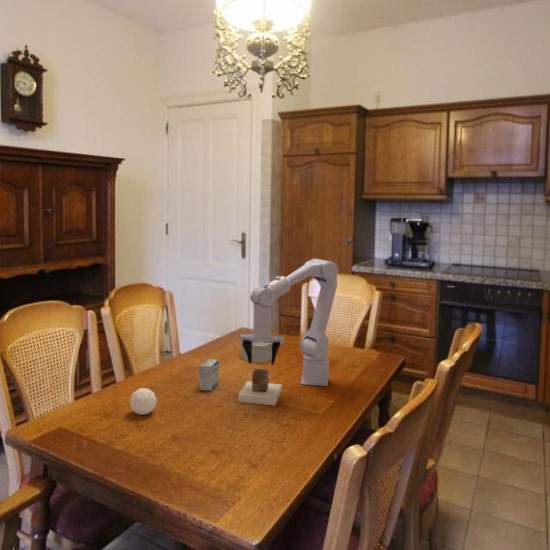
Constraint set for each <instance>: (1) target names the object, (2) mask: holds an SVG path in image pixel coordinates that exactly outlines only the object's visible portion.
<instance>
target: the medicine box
mask: <svg viewBox="0 0 550 550" xmlns="http://www.w3.org/2000/svg"><path fill="white" fill-rule="evenodd" d="M219 361H220V360H219V359H214V358H213V359H212V358H207V359H206V360H205V361H203V363H201V364H200V365H199V367H198V371H199V372H198V373H199V375H198V377H199V378H198V379H199V390H200V391H209V392H212V391H213V390H214V389H215V387H216V386H217V385H218V384H219V381H220V379H219V378H220V377H219V376H220V375H219V371H220V370H219V368H220V367H219ZM213 388H214V389H213Z"/></svg>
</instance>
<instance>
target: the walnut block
mask: <svg viewBox="0 0 550 550" xmlns="http://www.w3.org/2000/svg"><path fill="white" fill-rule="evenodd" d="M251 376H252V378H251V382H252V391H257V392H266V391H267V388H268V383H269V369H263V368H254V369H253V371H252V373H251Z"/></svg>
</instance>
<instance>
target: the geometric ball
mask: <svg viewBox="0 0 550 550" xmlns="http://www.w3.org/2000/svg"><path fill="white" fill-rule="evenodd" d="M157 401H158V399H157V397H156V393H155V392H154V391H152V390H150V389H149V388H148V387H147V388H145V387H141V388H138V389H136V391H134V392H133V393H131V396H130V399H129V405H130V409H131V410H132V411H133V412H134V413H136V414H138V415H142V416H143V415H148V414H149V413H150V412H152V411H153V410H154V409H155V408H156V404H157Z"/></svg>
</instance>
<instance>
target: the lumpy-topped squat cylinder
mask: <svg viewBox="0 0 550 550" xmlns="http://www.w3.org/2000/svg"><path fill="white" fill-rule="evenodd" d="M242 344H243V342H241V352H240V353H241V359H242V360H244V361H246V362H248V357H247V354H246V351H245V349H244V347H243V345H242ZM272 344H273V343H264V342H252V362H251V363H254V364H255V363H256V364H266V363H267V362H269V361H272Z"/></svg>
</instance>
